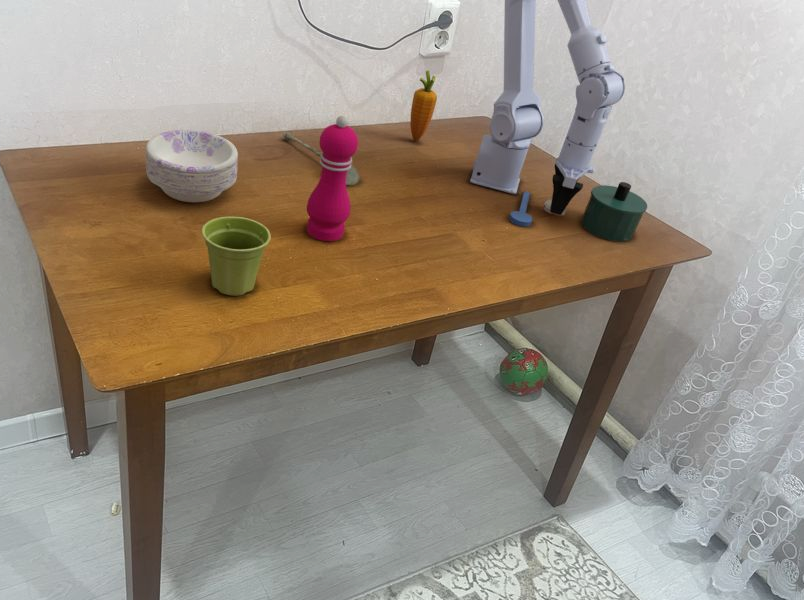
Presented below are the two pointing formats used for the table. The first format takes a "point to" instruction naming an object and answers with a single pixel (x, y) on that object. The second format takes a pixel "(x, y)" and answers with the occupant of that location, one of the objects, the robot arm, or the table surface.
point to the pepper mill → (332, 183)
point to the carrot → (422, 107)
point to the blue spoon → (521, 213)
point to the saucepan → (609, 222)
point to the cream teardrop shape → (548, 206)
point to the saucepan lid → (619, 198)
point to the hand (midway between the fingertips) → (556, 207)
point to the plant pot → (234, 252)
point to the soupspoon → (352, 173)
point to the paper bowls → (191, 164)
